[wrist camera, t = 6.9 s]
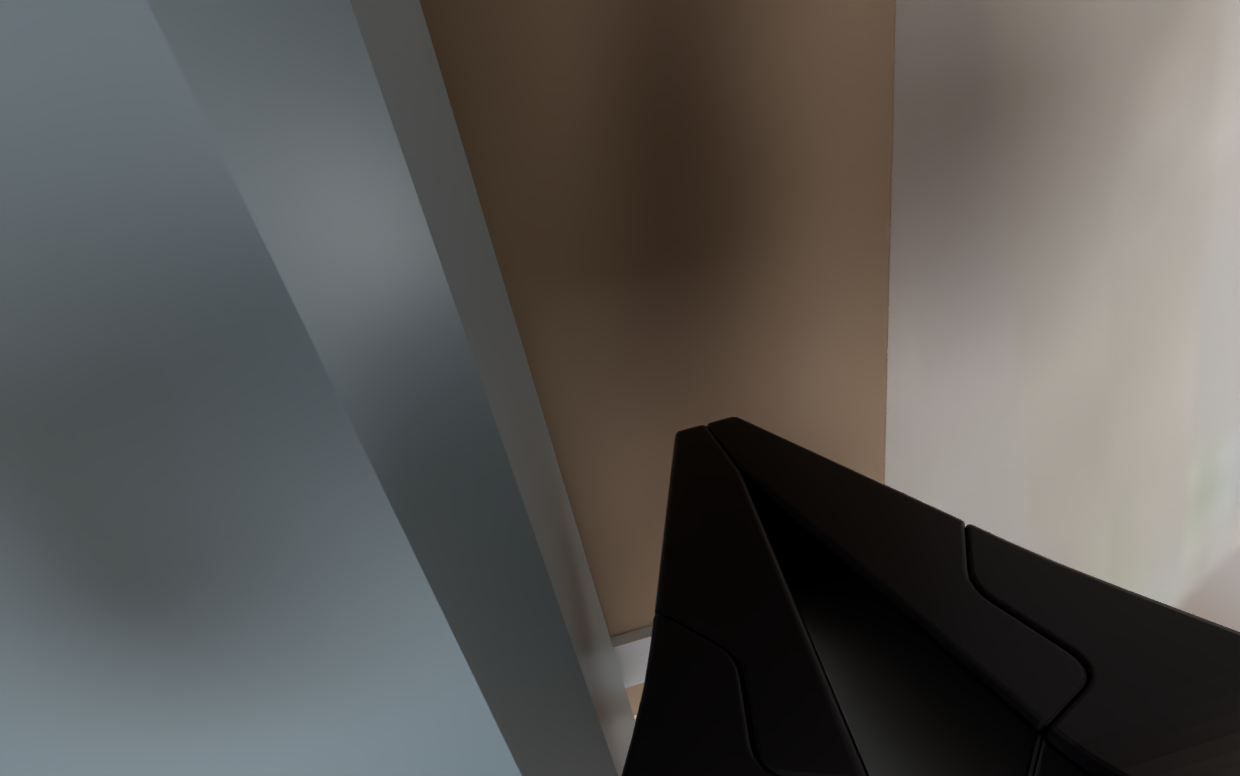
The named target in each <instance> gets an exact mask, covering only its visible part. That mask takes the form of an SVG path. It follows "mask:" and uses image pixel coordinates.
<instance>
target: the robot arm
mask: <svg viewBox="0 0 1240 776" xmlns="http://www.w3.org/2000/svg"><path fill="white" fill-rule="evenodd" d="M621 776H1240V632H1238V631H1235V630H1232V629H1230V628H1227V627H1224V626H1222V625H1219V624H1216V623H1214V622H1211V621H1208V620H1206V619H1203V618H1200V617H1198V616H1195V615H1193V614H1190V613H1187V612H1185V611H1182V610H1179V609H1177V608H1174V607H1171V606H1169V605H1166V604H1163V603H1161V602H1158V601H1155V600H1153V599H1150V598H1147V597H1145V596H1142V595H1139V594H1137V593H1134V592H1131V591H1129V590H1126V589H1123V588H1121V587H1118V586H1116V585H1113V584H1110V583H1108V582H1105V581H1103V580H1100V579H1098V578H1095V577H1093V576H1090V575H1088V574H1085V573H1082V572H1080V571H1077V570H1075V569H1072V568H1070V567H1067V566H1065V565H1062V564H1060V563H1057V562H1055V561H1053V560H1050V559H1048V558H1046V557H1043V556H1041V555H1039V554H1036V553H1034V552H1032V551H1030V550H1027V549H1025V548H1023V547H1020V546H1018V545H1016V544H1014V543H1011V542H1009V541H1007V540H1004V539H1002V538H1000V537H998V536H996V535H993V534H991V533H989V532H987V531H985V530H983V529H980V528H978V527H976V526H974V525H971V524H969V525H967V526H966V528H965V523H964V521H962V520H960V519H958V518H956V517H954V516H952V515H949V514H947V513H945V512H943V511H941V510H939V509H936V508H934V507H932V506H930V505H928V504H926V503H923V502H921V501H919V500H917V499H915V498H913V497H910V496H908V495H906V494H904V493H902V492H900V491H897V490H895V489H893V488H891V487H889V486H887V485H884V484H882V483H880V482H878V481H876V480H873V479H871V478H869V477H867V476H865V475H863V474H860V473H858V472H856V471H854V470H852V469H850V468H847V467H845V466H843V465H841V464H839V463H837V462H834V461H832V460H830V459H828V458H826V457H824V456H821V455H819V454H817V453H815V452H813V451H811V450H808V449H806V448H804V447H802V446H800V445H798V444H795V443H793V442H791V441H789V440H787V439H784V438H782V437H780V436H778V435H776V434H774V433H771V432H769V431H767V430H765V429H763V428H761V427H758V426H756V425H754V424H752V423H750V422H748V421H745V420H743V419H741V418H739V417H729V418H725V419H722V420H718V421H714V422H711V423H708V425H707V426H704V425H699V426H696V427H692V428H688V429H684V430H681V431H678V432H677V433H676V435H675V440H674V449H673V457H672V466H671V474H670V483H669V492H668V500H667V509H666V518H665V526H664V535H663V544H662V552H661V561H660V570H659V578H658V587H657V595H656V604H655V616H654V618H653V626H652V635H651V643H650V650H649V656H648V662H647V669H646V675H645V681H644V687H643V692H642V696H641V700H640V705H639V709H638V713H637V717H636V722H635V726H634V730H633V735H632V739H631V742H630V746H629V750H628V753H627V757H626V761H625V764H624V768H623V772H622V775H621Z"/></svg>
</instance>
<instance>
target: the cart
mask: <svg viewBox="0 0 1240 776" xmlns="http://www.w3.org/2000/svg"><path fill="white" fill-rule="evenodd" d="M634 726H635V719H634V716H633V713H632V709H631V706H630V703H629V699H628V696H627V693H626V689H625V686H624V683H623V679H622V676H621V673H620V669H619V666H618V663H617V659H616V656H615V653H614V649H613V646H612V643H611V639H610V636H609V633H608V629H607V626H606V623H605V619H604V616H603V612H602V609H601V606H600V602H599V599H598V596H597V592H596V589H595V586H594V582H593V579H592V576H591V572H590V569H589V566H588V562H587V559H586V556H585V552H584V549H583V546H582V542H581V539H580V536H579V532H578V529H577V526H576V522H575V519H574V516H573V512H572V509H571V505H570V502H569V499H568V495H567V492H566V489H565V485H564V482H563V479H562V475H561V472H560V469H559V465H558V462H557V459H556V455H555V452H554V449H553V445H552V442H551V439H550V435H549V432H548V429H547V425H546V422H545V419H544V415H543V412H542V409H541V405H540V402H539V398H538V395H537V392H536V388H535V385H534V382H533V378H532V375H531V372H530V368H529V365H528V362H527V358H526V355H525V352H524V348H523V345H522V342H521V338H520V335H519V332H518V328H517V325H516V322H515V318H514V315H513V312H512V308H511V305H510V302H509V298H508V295H507V292H506V288H505V285H504V281H503V278H502V275H501V271H500V268H499V265H498V261H497V258H496V255H495V251H494V248H493V245H492V241H491V238H490V235H489V231H488V228H487V225H486V221H485V218H484V215H483V211H482V208H481V205H480V201H479V198H478V195H477V191H476V188H475V185H474V181H473V178H472V174H471V171H470V168H469V164H468V161H467V158H466V154H465V151H464V148H463V144H462V141H461V138H460V134H459V131H458V128H457V124H456V121H455V118H454V114H453V111H452V108H451V104H450V101H449V98H448V94H447V91H446V88H445V84H444V81H443V78H442V74H441V71H440V67H439V64H438V61H437V57H436V54H435V51H434V47H433V44H432V41H431V37H430V34H429V31H428V27H427V24H426V21H425V17H424V14H423V11H422V7H421V4H420V1H419V0H0V776H621V775H622V772H623V768H624V764H625V761H626V757H627V753H628V750H629V746H630V742H631V739H632V735H633V730H634Z"/></svg>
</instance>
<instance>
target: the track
mask: <svg viewBox="0 0 1240 776" xmlns="http://www.w3.org/2000/svg"><path fill="white" fill-rule="evenodd" d="M419 1H420V4H421V7H422V11H423V14H424V17H425V21H426V24H427V27H428V31H429V34H430V37H431V41H432V44H433V47H434V51H435V54H436V57H437V61H438V64H439V67H440V71H441V74H442V78H443V81H444V84H445V88H446V91H447V94H448V98H449V101H450V104H451V108H452V111H453V114H454V118H455V121H456V124H457V128H458V131H459V134H460V138H461V141H462V144H463V148H464V151H465V154H466V158H467V161H468V164H469V168H470V171H471V174H472V178H473V181H474V185H475V188H476V191H477V195H478V198H479V201H480V205H481V208H482V211H483V215H484V218H485V221H486V225H487V228H488V231H489V235H490V238H491V241H492V245H493V248H494V251H495V255H496V258H497V261H498V265H499V268H500V271H501V275H502V278H503V281H504V285H505V288H506V292H507V295H508V298H509V302H510V305H511V308H512V312H513V315H514V318H515V322H516V325H517V328H518V332H519V335H520V338H521V342H522V345H523V348H524V352H525V355H526V358H527V362H528V365H529V368H530V372H531V375H532V378H533V382H534V385H535V388H536V392H537V395H538V398H539V402H540V405H541V409H542V412H543V415H544V419H545V422H546V425H547V429H548V432H549V435H550V439H551V442H552V445H553V449H554V452H555V455H556V459H557V462H558V465H559V469H560V472H561V475H562V479H563V482H564V485H565V489H566V492H567V495H568V499H569V502H570V505H571V509H572V512H573V516H574V519H575V522H576V526H577V529H578V532H579V536H580V539H581V542H582V546H583V549H584V552H585V556H586V559H587V562H588V566H589V569H590V572H591V576H592V579H593V582H594V586H595V589H596V592H597V596H598V599H599V602H600V606H601V609H602V612H603V616H604V619H605V623H606V626H607V629H608V633H609V636H610V639H611V643H612V646H613V649H614V653H615V656H616V659H617V663H618V666H619V669H620V673H621V676H622V679H623V683H624V686H625V689H626V693H627V696H628V699H629V703H630V706H631V709H632V713H633V715H635V714H637V713H638V709H639V705H640V700H641V696H642V692H643V687H644V681H645V675H646V669H647V662H648V656H649V650H650V643H651V635H652V626H653V618H654V616H655V604H656V595H657V587H658V578H659V570H660V561H661V552H662V544H663V535H664V526H665V518H666V509H667V500H668V492H669V483H670V474H671V466H672V457H673V449H674V440H675V435H676V433H677V432H678V431H681V430H684V429H688V428H692V427H696V426H699V425H704V426H707V425H708V423H711V422H714V421H718V420H722V419H725V418H729V417H739V418H741V419H743V420H745V421H748V422H750V423H752V424H754V425H756V426H758V427H761V428H763V429H765V430H767V431H769V432H771V433H774V434H776V435H778V436H780V437H782V438H784V439H787V440H789V441H791V442H793V443H795V444H798V445H800V446H802V447H804V448H806V449H808V450H811V451H813V452H815V453H817V454H819V455H821V456H824V457H826V458H828V459H830V460H832V461H834V462H837V463H839V464H841V465H843V466H845V467H847V468H850V469H852V470H854V471H856V472H858V473H860V474H863V475H865V476H867V477H869V478H871V479H873V480H876V481H878V482H880V483H882V484H884V478H885V435H886V391H887V348H888V305H889V261H890V218H891V175H892V131H893V88H894V44H895V1H896V0H419Z"/></svg>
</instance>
